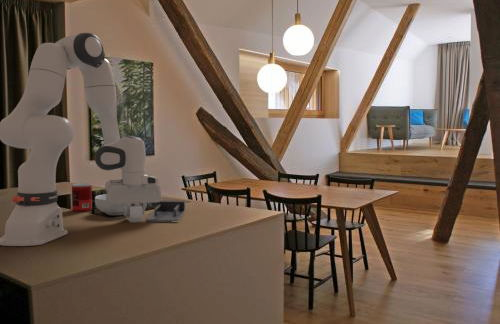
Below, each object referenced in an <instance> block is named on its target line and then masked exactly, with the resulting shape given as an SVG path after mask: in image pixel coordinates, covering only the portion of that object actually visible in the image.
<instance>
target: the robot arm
mask: <svg viewBox="0 0 500 324" xmlns="http://www.w3.org/2000/svg"><path fill="white" fill-rule="evenodd" d="M105 55H106V53H105V50H104V45H103V43H102V41H101V40H100V38H99V37H98V36H97V35H96V34H94V33H90V32H81V33H77V34H73V35H72V34H71V35H68V36H65V37H62V38H61V39H58V40H55V41H54V42H44V43H41V44H39V46H38V47H37V48H36V50H35V53H34V54H33V58H32V61H31V63H30V64H31V65H30V67H29V72H28V76H27V81H26V85H25V89H24V92H23V94H22V97H21V98H20V100H19V101H18V103H17V104H16V107H14V109H13V110H12V111H11V112H10V114H8V115H7V116H6V117H4V118H3V119H1V121H0V142H1V143H3V144H4V145H6V146H10V147H12V148H15V149H27V150H28V149H29V150H30V151H29V156H28V157H27V160H26V161H25V162H23V163H22V164H21V165H20V166H18V170H17V177H18V179H17V181H18V184H17V185H18V187H17V189H18V192H17V193H16V195H13V196H12V198H11V201H12V203H15V206H14V207H15V208H14V209H13V210H12V212H11V213H10V215H9V217H8V219H7V220H6V222H5V226H4V234H3V235H2V236H0V246H4V247H5V246H7V247H27V246H29V247H30V246H40V245H44V244H47V243H48V242H51V241H54V240H57V239H58V238H61V237H63V236H64V237H65V236H66V235H68V233H69V232H68V230H66V229H64V219H63V218H64V217H63V210H62V208H61V207H60V206H59V204H58V203H57V202H58V190H57V186H56V183H57V182H56V181H57V180H56V179H57V178H56V174H57V173H56V172H57V165H58V161H59V158H60V156H61V154H62V153H63V152H64V150H65V149H66V148H67V147H69V146H70V145H71V143H72V142H73V139H74V136H75V129H74V126H73V124H72V122H71V121H70V120H69V119H68V118H66V117H64V116H63V117H62V116H58V115H54V114H48V113H49V112H50V111H51V110H52V109H53V108H55V107H56V106H58V105H59V104H60V102H61V101H62V97H63V91H64V87H65V82H66V77H67V76H66V75H67V71H68V70H70V69H76V68H78V70H79V71H80V74H82V79H83V89H84V94H85V95H84V96H85V99H86V103H87V105H88V107H89V109H90V110H92V111H93V112H94V114H95V115H96V117H97V118H98V120H99V122H100V126H101V133H102V137H103V145H102V146H100V147H99V148H98V149H97V150H96V151H95V154H94V162H95V164H96V166H97V167H98V168H100V169H101V170H104V171H113V170H117V169H120V170H121V179H109V181H107V182H106V183H105V186H104V187H105V189H104V190H105V192H106V203H107V204H108V205H121V208H122V209H123V211H124V215H123V216H124V217H126V216H129V211H126V210H125V208H124V207H126V204H141V206H142V216H144V215H145V210H146V209H147V207H148V204H151V203H154V204H155V202H160V201H161V200H162V190H161V186H160V185H159V184H158V183H159V178H157V176H154V175H151V174H147V169H146V160H147V157H146V156H147V155H146V154H147V152H146V144H145V141H144V140H143V139H142V138H141V137H139V136H134V135H123V137H121V134H120V127H119V121H118V115H117V114H118V113H117V111H118V110H117V109H118V108H117V104H118V103H117V102H118V101H117V87H116V81H115V80H116V79H115V76H114V72H113V69H112V65H111V62H110V61H109V60H108V59H107V58H106V57H105Z"/></svg>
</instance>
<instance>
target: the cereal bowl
mask: <svg viewBox="0 0 500 324" xmlns="http://www.w3.org/2000/svg"><path fill="white" fill-rule="evenodd" d="M106 194H107V193H106ZM106 194H104V193H103V194H99V195H96V196H95V198H94V203H95V207H96V208H97V209H98V210H99V211H101V212H103V213H104V214H106V215H108V216H122V215H123V216H124V211H123V209H122V208H121V205H108V204H107V203H106ZM124 208H125V210H126V207H124Z"/></svg>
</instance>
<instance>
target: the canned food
mask: <svg viewBox="0 0 500 324" xmlns="http://www.w3.org/2000/svg"><path fill="white" fill-rule="evenodd" d="M71 209H72V212H74V213H75V212H77V213H86V212H90V211H92V209H93V186H92V183H89V182H80V183H79V182H78V183H73V184H71Z"/></svg>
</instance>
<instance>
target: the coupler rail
mask: <svg viewBox="0 0 500 324" xmlns="http://www.w3.org/2000/svg"><path fill="white" fill-rule="evenodd" d="M154 205H155V207H154V211H153V212H151V214H150V215H148V217H147V218H146V219H145V223H171V222H170V221H179V222H180V220H181V219H180V217H181V216H182V214H183V213H184V211H185V212H186V200H168V199H167V200H164V199H163V200H162V199H161V201H160V202H155V203H154ZM184 214H185V213H184ZM184 214H183V215H184ZM182 217H183V216H182ZM182 217H181V218H182ZM179 219H180V220H179Z"/></svg>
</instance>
